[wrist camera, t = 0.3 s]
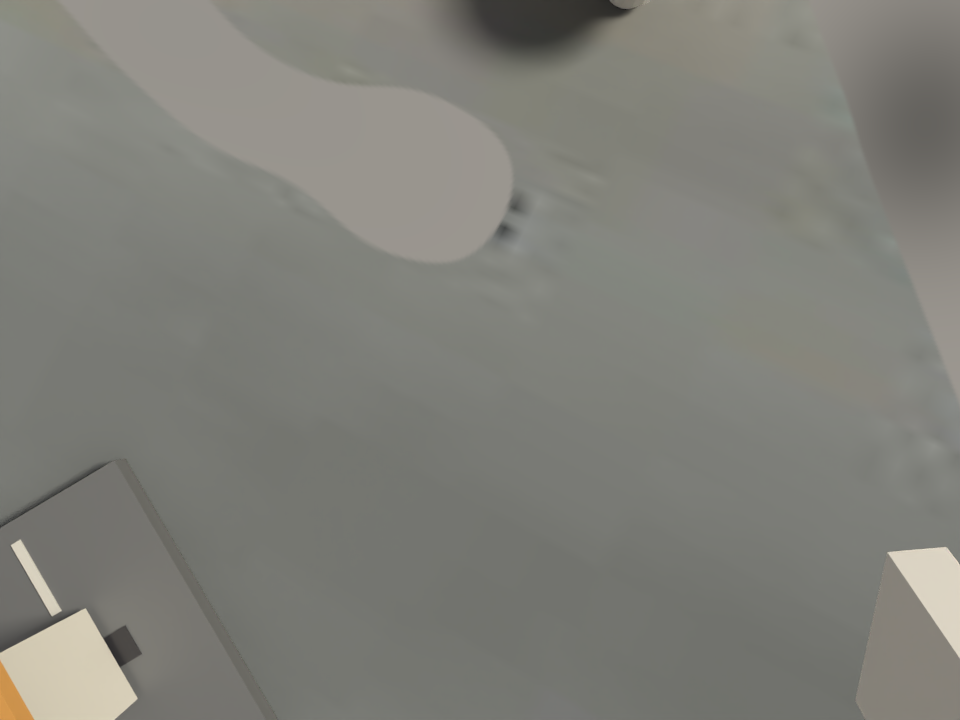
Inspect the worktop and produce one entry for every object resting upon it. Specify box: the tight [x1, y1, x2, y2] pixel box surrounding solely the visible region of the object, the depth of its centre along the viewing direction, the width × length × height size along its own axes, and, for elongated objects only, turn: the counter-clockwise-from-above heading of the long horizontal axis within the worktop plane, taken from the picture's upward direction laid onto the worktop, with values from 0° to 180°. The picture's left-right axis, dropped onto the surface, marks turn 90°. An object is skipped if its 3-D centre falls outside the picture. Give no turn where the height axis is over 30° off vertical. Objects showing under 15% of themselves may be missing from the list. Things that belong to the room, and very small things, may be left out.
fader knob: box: [0, 608, 138, 720], centre depth 38 cm, size 5×3×10 cm, turn 31°
